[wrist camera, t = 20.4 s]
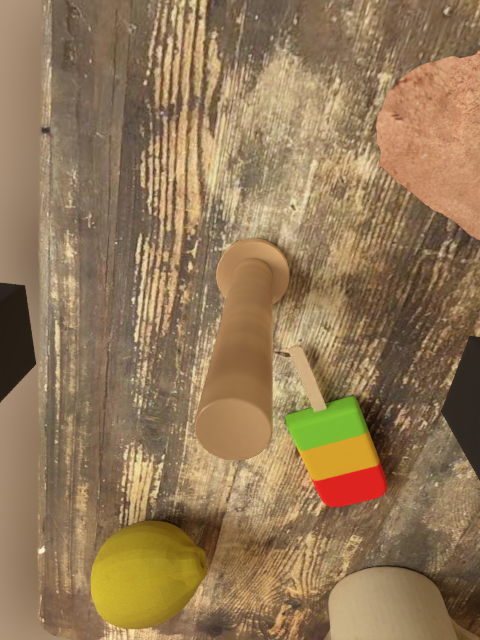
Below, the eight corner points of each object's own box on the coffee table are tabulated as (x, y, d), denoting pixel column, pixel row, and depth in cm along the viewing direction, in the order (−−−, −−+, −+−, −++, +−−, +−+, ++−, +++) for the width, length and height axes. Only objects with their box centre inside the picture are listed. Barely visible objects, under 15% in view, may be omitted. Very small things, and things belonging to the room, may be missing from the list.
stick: (248, 222, 27) (220, 340, 13) (304, 269, 28) (337, 427, 14) (203, 276, 29) (133, 435, 14) (257, 319, 30) (243, 505, 15)
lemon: (120, 563, 42) (89, 654, 35) (91, 507, 39) (50, 595, 32) (225, 552, 41) (215, 646, 33) (203, 493, 37) (187, 583, 30)
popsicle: (323, 495, 37) (325, 513, 35) (258, 352, 31) (257, 365, 29) (387, 479, 35) (393, 497, 34) (331, 328, 30) (334, 340, 28)
